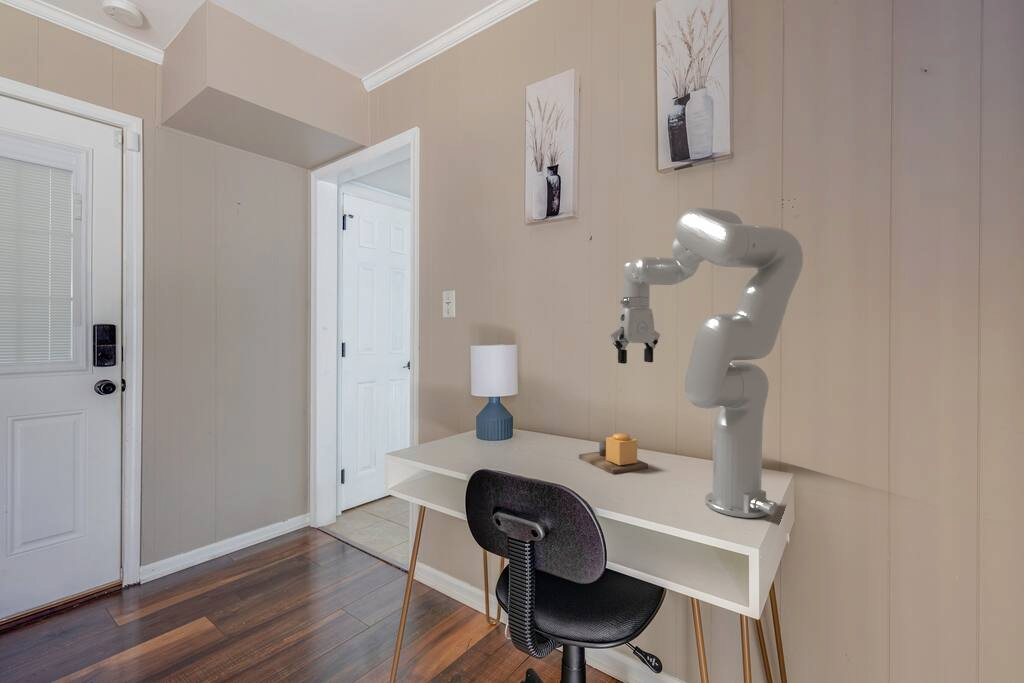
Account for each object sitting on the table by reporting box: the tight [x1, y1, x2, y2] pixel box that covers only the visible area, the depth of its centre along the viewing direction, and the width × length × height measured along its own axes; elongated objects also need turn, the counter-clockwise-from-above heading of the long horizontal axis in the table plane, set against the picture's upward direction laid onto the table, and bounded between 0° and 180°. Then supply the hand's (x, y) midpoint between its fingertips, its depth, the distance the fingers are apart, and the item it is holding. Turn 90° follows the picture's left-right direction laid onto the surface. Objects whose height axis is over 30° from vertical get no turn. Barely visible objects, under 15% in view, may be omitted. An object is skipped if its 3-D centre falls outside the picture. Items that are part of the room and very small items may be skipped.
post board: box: [578, 440, 649, 475], centre depth 133 cm, size 16×12×7 cm
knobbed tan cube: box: [605, 432, 638, 465], centre depth 129 cm, size 6×6×7 cm
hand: (635, 362), depth 136 cm, fingers open, 9 cm apart
